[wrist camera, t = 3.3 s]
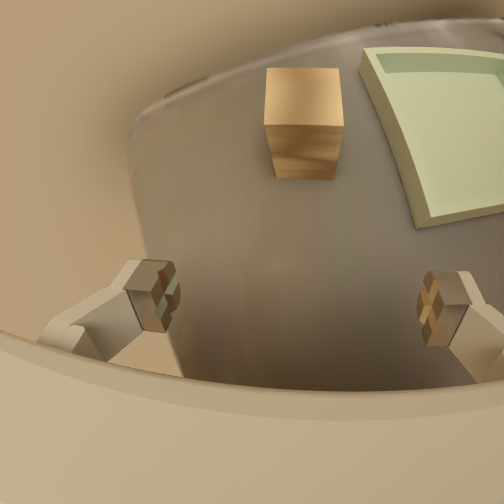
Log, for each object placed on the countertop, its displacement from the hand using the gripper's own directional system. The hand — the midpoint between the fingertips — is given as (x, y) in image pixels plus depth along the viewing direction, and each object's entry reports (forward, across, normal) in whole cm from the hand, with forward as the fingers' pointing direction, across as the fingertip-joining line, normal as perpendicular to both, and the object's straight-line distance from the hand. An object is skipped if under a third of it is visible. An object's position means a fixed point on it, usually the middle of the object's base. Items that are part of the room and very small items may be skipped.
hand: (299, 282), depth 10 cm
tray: (+20, -16, -1) cm, 26 cm away
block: (+18, 0, +2) cm, 18 cm away
